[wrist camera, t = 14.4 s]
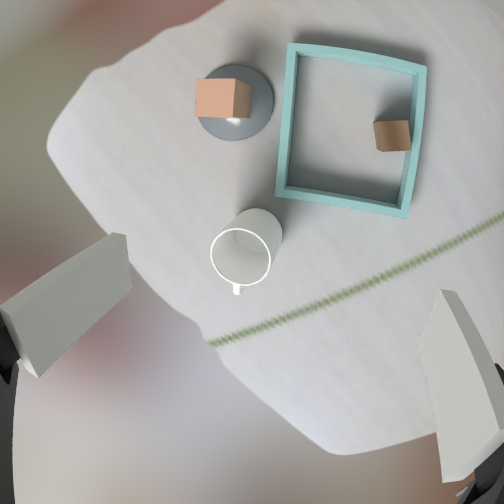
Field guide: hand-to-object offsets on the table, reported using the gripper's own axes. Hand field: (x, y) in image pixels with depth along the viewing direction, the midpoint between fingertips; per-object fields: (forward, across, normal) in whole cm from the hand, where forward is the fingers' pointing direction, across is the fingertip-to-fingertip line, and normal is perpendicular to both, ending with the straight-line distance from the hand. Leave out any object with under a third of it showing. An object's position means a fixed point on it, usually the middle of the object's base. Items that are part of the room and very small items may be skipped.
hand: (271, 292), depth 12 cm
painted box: (+34, -13, +9) cm, 38 cm away
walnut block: (+35, +10, +7) cm, 37 cm away
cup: (+35, -8, -13) cm, 38 cm away
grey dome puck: (+35, -13, +9) cm, 38 cm away
